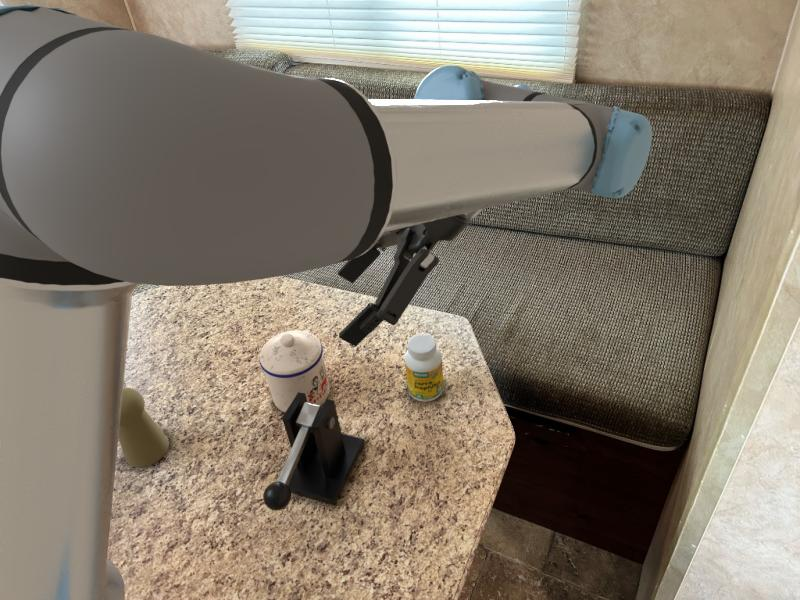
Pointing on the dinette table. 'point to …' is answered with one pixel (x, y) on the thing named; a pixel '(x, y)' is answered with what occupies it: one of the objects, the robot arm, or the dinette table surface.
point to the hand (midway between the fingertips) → (346, 307)
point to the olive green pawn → (139, 432)
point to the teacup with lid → (295, 368)
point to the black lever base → (321, 453)
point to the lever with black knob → (291, 461)
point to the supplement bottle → (424, 368)
